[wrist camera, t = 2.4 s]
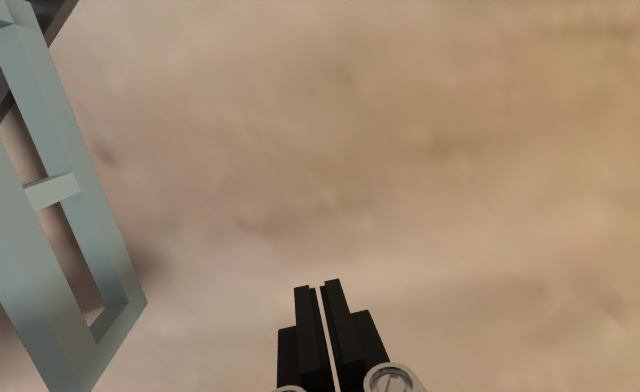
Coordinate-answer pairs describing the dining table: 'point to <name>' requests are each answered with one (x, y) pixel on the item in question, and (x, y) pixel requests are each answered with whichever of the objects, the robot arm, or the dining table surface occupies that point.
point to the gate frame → (51, 13)
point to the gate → (83, 216)
